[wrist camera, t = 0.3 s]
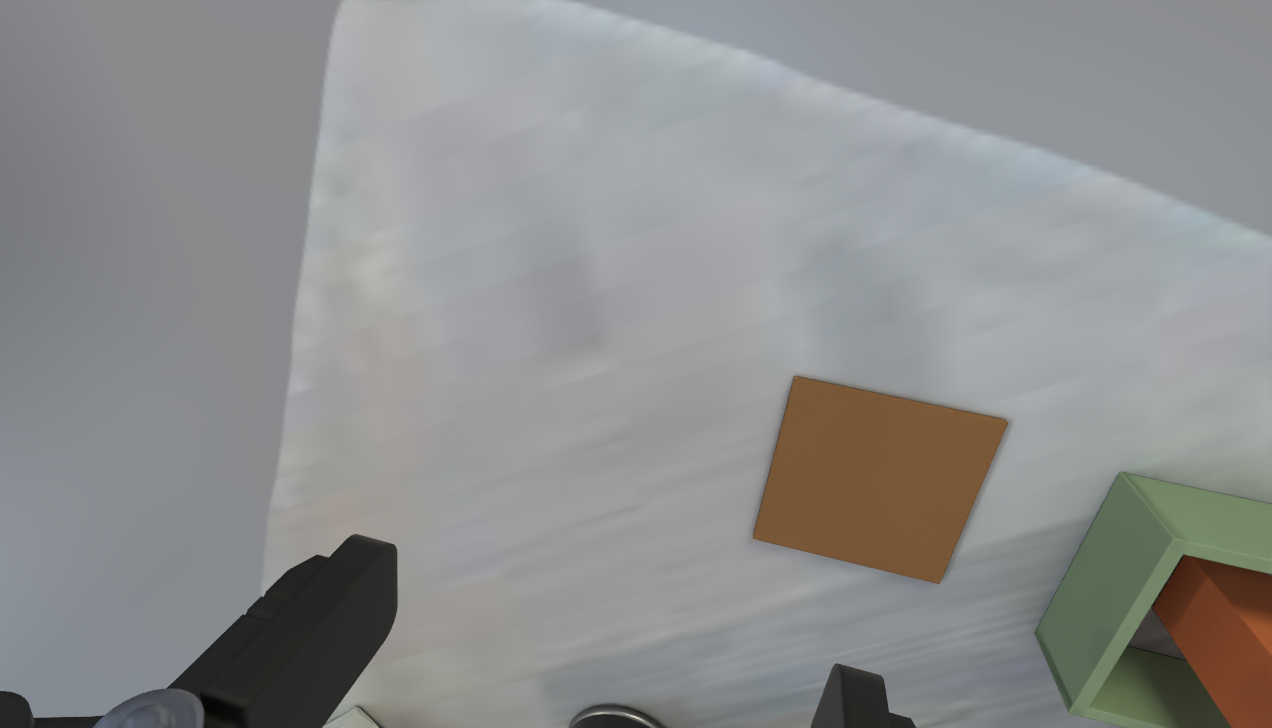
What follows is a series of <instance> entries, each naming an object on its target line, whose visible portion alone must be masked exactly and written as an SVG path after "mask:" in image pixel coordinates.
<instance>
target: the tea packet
mask: <svg viewBox="0 0 1272 728" xmlns="http://www.w3.org/2000/svg"><path fill="white" fill-rule="evenodd" d="M1153 610H1154V611H1155V613H1156V614H1157V616H1158V617H1159V619H1160V620H1161V622H1162V623H1163V625H1164V626H1165V628H1166V629H1167V631H1168V632H1169V634H1170V635H1171V637H1172V638H1173V640H1174V641H1175V643H1176V644H1177V646H1178V647H1179V649H1180V650H1181V652H1182V654H1183V655H1184V657H1185V658H1186V660H1187V661H1188V663H1189V664H1190V666H1191V667H1192V669H1193V670H1194V672H1195V673H1196V675H1197V676H1198V678H1199V679H1200V681H1201V682H1202V684H1203V685H1204V687H1205V688H1206V690H1207V691H1208V693H1209V694H1210V696H1211V697H1212V699H1213V700H1214V702H1215V704H1216V705H1217V707H1218V708H1219V710H1220V711H1221V713H1222V714H1223V716H1224V717H1225V719H1226V720H1227V722H1228V723H1229V725H1230V726H1231V728H1272V577H1271V576H1270V575H1269V574H1268V573H1264V572H1259V571H1255V570H1250V569H1246V568H1241V567H1237V566H1233V565H1228V564H1224V563H1219V562H1215V561H1210V560H1206V559H1202V558H1197V557H1193V556H1188V555H1185V556H1184V557H1183V559H1182V561H1181V562H1180V564H1179V565H1178V567H1177V569H1176V570H1175V572H1174V573H1173V575H1172V577H1171V578H1170V580H1169V582H1168V583H1167V585H1166V586H1165V588H1164V590H1163V591H1162V593H1161V595H1160V596H1159V598H1158V599H1157V601H1156V603H1155V604H1154V606H1153Z"/></svg>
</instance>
